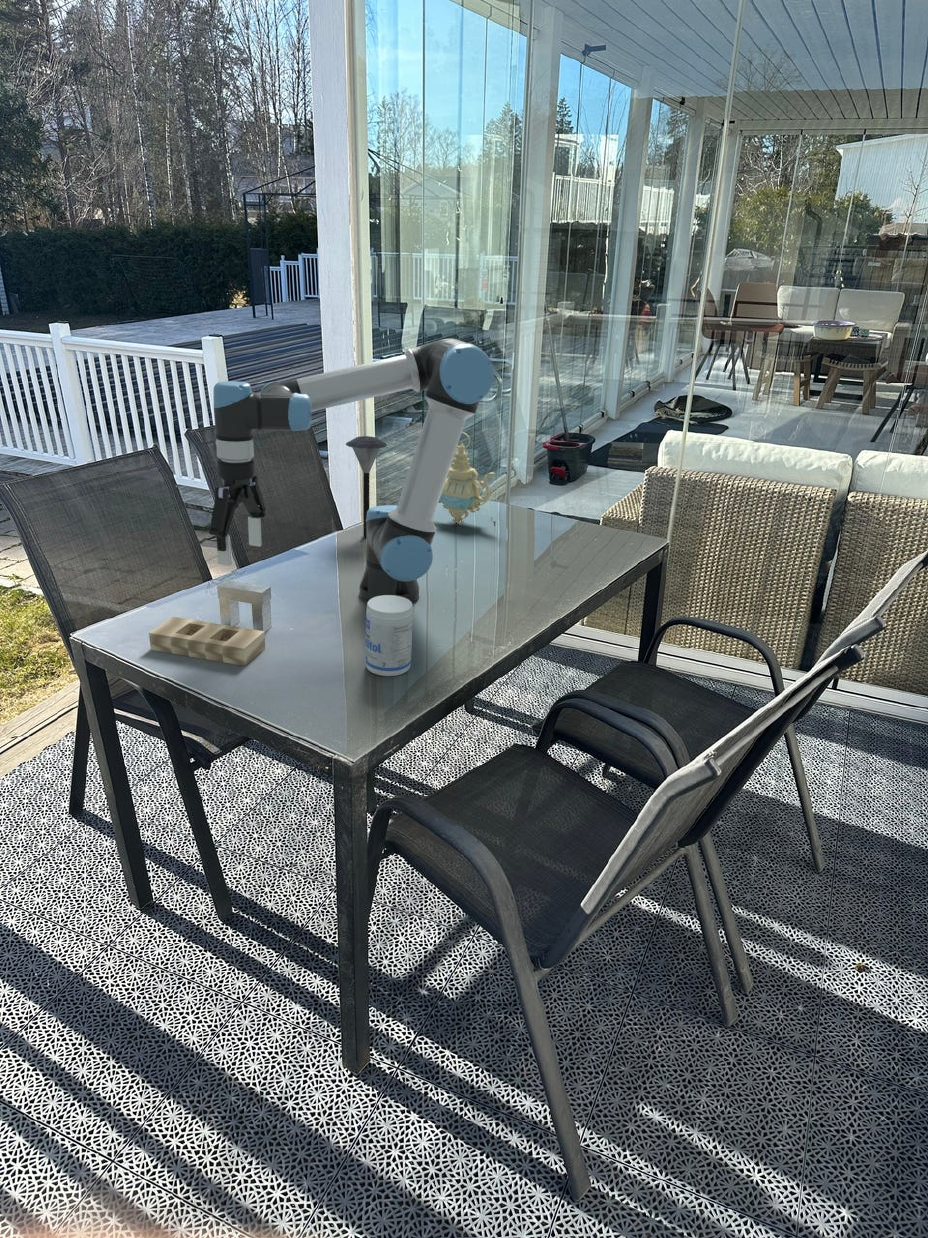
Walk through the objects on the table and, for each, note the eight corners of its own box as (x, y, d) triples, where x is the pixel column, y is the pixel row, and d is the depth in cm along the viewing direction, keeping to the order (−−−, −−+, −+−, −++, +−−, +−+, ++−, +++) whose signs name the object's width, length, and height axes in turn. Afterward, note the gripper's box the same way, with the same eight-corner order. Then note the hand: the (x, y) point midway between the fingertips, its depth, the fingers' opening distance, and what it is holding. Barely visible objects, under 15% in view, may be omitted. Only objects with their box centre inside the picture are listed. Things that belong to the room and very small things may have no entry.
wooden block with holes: (265, 648, 177) (264, 631, 176) (245, 666, 169) (244, 648, 168) (174, 633, 182) (172, 616, 180) (150, 649, 174) (148, 632, 172)
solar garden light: (352, 544, 243) (352, 443, 231) (341, 532, 253) (340, 434, 241) (391, 541, 248) (393, 441, 236) (379, 529, 258) (380, 433, 246)
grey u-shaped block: (272, 627, 187) (270, 586, 183) (264, 633, 184) (262, 592, 180) (229, 620, 190) (226, 579, 186) (220, 626, 186) (217, 585, 182)
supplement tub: (356, 667, 171) (355, 602, 165) (388, 653, 178) (389, 590, 172) (388, 682, 166) (389, 616, 160) (420, 667, 173) (422, 603, 167)
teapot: (417, 521, 267) (420, 429, 255) (435, 514, 276) (439, 424, 264) (481, 536, 256) (487, 440, 244) (498, 527, 266) (505, 434, 254)
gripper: (248, 445, 183) (252, 536, 192) (186, 468, 161) (194, 570, 169) (278, 449, 182) (281, 540, 190) (221, 473, 159) (227, 575, 168)
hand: (240, 554), depth 180 cm, fingers open, 13 cm apart
